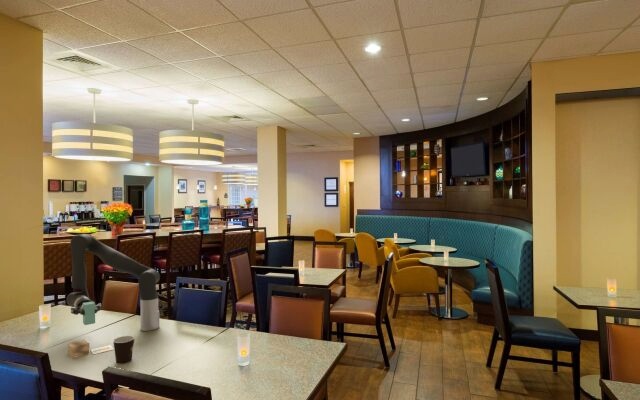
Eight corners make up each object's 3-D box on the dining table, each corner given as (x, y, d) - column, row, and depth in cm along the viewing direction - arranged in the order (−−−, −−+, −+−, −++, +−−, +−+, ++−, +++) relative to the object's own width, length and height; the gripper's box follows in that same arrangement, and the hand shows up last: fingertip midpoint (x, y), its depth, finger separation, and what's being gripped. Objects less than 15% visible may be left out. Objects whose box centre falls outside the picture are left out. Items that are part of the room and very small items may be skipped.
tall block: (93, 320, 192) (93, 301, 192) (95, 323, 189) (95, 303, 189) (83, 322, 189) (82, 303, 189) (84, 325, 186) (84, 305, 186)
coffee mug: (125, 365, 168) (125, 343, 168) (108, 364, 170) (108, 342, 170) (142, 355, 180) (142, 334, 180) (126, 353, 182) (126, 332, 181)
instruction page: (110, 345, 192) (110, 344, 192) (114, 349, 187) (114, 348, 187) (90, 350, 186) (90, 349, 186) (93, 354, 180) (93, 354, 180)
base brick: (84, 349, 187) (84, 339, 187) (89, 353, 182) (89, 343, 182) (67, 354, 182) (67, 343, 182) (72, 358, 177) (72, 347, 177)
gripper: (67, 300, 195) (72, 307, 182) (98, 295, 204) (106, 302, 191) (67, 314, 195) (73, 323, 182) (98, 309, 204) (106, 316, 191)
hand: (90, 312), depth 187 cm, fingers closed on tall block, 4 cm apart
